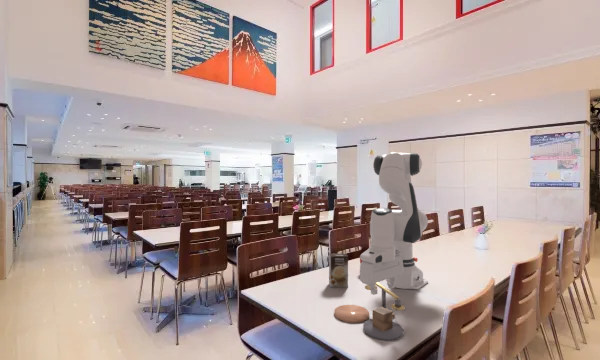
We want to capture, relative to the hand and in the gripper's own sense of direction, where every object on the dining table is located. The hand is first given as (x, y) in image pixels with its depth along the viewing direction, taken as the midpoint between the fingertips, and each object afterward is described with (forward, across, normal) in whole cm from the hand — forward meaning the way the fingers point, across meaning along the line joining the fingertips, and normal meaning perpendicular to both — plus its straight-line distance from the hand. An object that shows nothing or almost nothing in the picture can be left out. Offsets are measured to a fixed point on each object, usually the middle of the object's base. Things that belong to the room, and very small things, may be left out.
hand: (382, 291), depth 111 cm
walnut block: (+13, +1, 0) cm, 13 cm away
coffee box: (+15, -18, -45) cm, 51 cm away
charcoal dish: (+14, +1, 0) cm, 14 cm away
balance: (+14, -8, -7) cm, 18 cm away
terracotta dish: (+14, +1, -16) cm, 21 cm away
